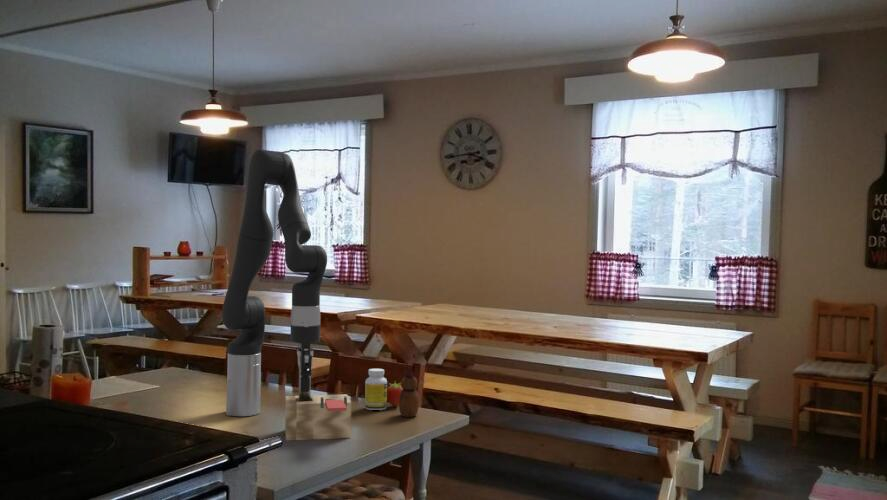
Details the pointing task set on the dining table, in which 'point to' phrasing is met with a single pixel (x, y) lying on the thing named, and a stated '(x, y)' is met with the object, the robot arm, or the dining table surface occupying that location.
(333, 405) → the keeper tab
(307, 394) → the steel pin
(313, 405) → the hitch block
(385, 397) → the pill bottle
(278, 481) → the dining table surface
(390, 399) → the fruit
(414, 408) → the wooden figurine
